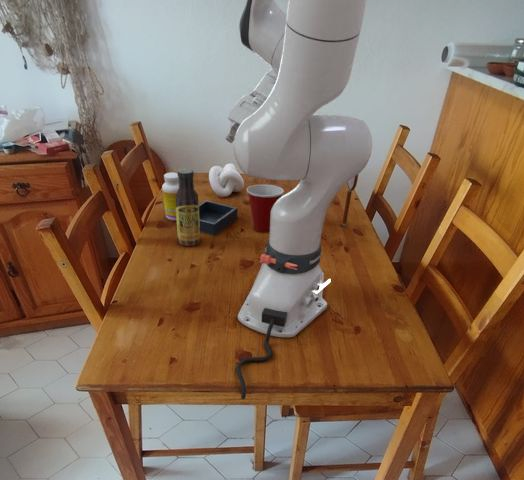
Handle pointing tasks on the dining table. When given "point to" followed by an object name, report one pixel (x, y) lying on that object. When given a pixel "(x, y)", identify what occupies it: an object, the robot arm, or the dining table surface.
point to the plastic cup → (263, 204)
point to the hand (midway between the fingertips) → (236, 145)
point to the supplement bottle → (170, 194)
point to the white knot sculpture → (225, 180)
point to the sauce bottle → (187, 209)
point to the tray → (215, 216)
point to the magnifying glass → (349, 196)
